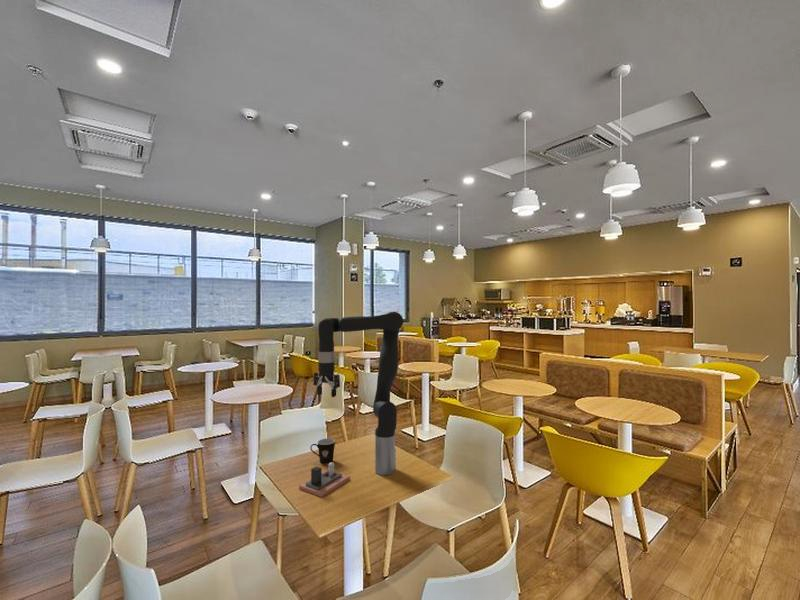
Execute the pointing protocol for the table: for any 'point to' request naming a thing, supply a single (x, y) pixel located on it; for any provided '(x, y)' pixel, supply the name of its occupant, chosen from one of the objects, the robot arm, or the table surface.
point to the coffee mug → (325, 450)
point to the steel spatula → (321, 478)
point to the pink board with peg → (328, 487)
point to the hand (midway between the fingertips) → (326, 395)
